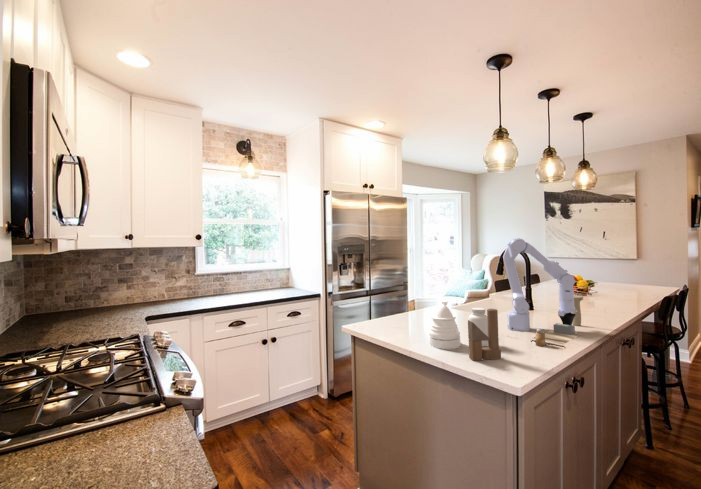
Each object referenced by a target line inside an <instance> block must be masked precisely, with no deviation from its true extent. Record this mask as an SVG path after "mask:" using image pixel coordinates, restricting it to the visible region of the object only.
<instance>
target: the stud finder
mask: <svg viewBox="0 0 701 489" xmlns="http://www.w3.org/2000/svg"><path fill="white" fill-rule="evenodd" d="M575 327H576V326H573V324H572V325H566V324H563V323H560V322H559V323H558V322H556V323H554V324H553V330H554V333H560V334H566V335H573V334H576V333H575V332H576V331H575Z"/></svg>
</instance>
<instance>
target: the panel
mask: <svg viewBox="0 0 701 489" xmlns="http://www.w3.org/2000/svg"><path fill="white" fill-rule="evenodd" d="M544 333H545V345H549V346H550V345H551V346H554V347H555V346H556V347H561V348H565V347H566V346H565V344H566V343H569V342H571V341H573V340H574V339H576V338H578V337H580V336H581V334H580V333H579V334H578V333H575V334H573V335H566V334H560V333H554V329H550V330H548V331H546V332H544ZM531 342H535V343H536V336H533V337H532V339H531Z"/></svg>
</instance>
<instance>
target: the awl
mask: <svg viewBox="0 0 701 489" xmlns="http://www.w3.org/2000/svg"><path fill="white" fill-rule="evenodd" d="M535 337H536V339H535V340H536V342H535V346H536V347H546V344H545V342H546V341H545V332H544V329H543V328H536V332H535Z"/></svg>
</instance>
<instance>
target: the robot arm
mask: <svg viewBox="0 0 701 489" xmlns="http://www.w3.org/2000/svg"><path fill="white" fill-rule="evenodd" d="M521 253H525V254H529V255H530V256H532V257H533V259H535V260H536V261H537V262H539V264H541V265H543V270H544V271H545V272H546V273H547V274H548V275H550V276H551V277H552V278H553V279H554V280H556V281H557V283H558V301H559V302H558V304H559V306H558V311H557V316H558V317H559V318H560V320H561V324H566V325H573V324H572V322H573V319H574V317H575V315H576V314H573V313H571V312H577V310H575V307H574V296H575V291H574V285H575V283H576V279H575V277H574V276H573V275H572V274H570V273H569V272H568V270H567V269H565V268H563V267H561V265H560V263H559V262H558V261H555V260H549V259H547V257H545V255H543V254H542V253H541V252H540V251H539V250H537V248H535V247H534V246H533V245H532V244H530V243H529V242H526V241H525V239H523V238H520V237H519V238H518V237H517V238H512V239H511V241H509V243H508V244H507V246H506V249H505V251H504V253H503V256H502V258H503V263H504V267H505V271H506V276H507V279H508V282H509V286H510V290H511V295H512V302H511V304H512V307H513V309H512V311H511V312H507V330H509V331H521V332H529V331H530V330H531V324H530V323H531V322H530V321H531V319H530V311H529V310H530V304H529V303H528V302H527V300H526V298H525V295H524V292H523V287H522V285H521V280H520V277H519V273H518V269H517V266H516V261H515V259H516V258H517V257H518V255H519V254H521Z"/></svg>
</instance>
